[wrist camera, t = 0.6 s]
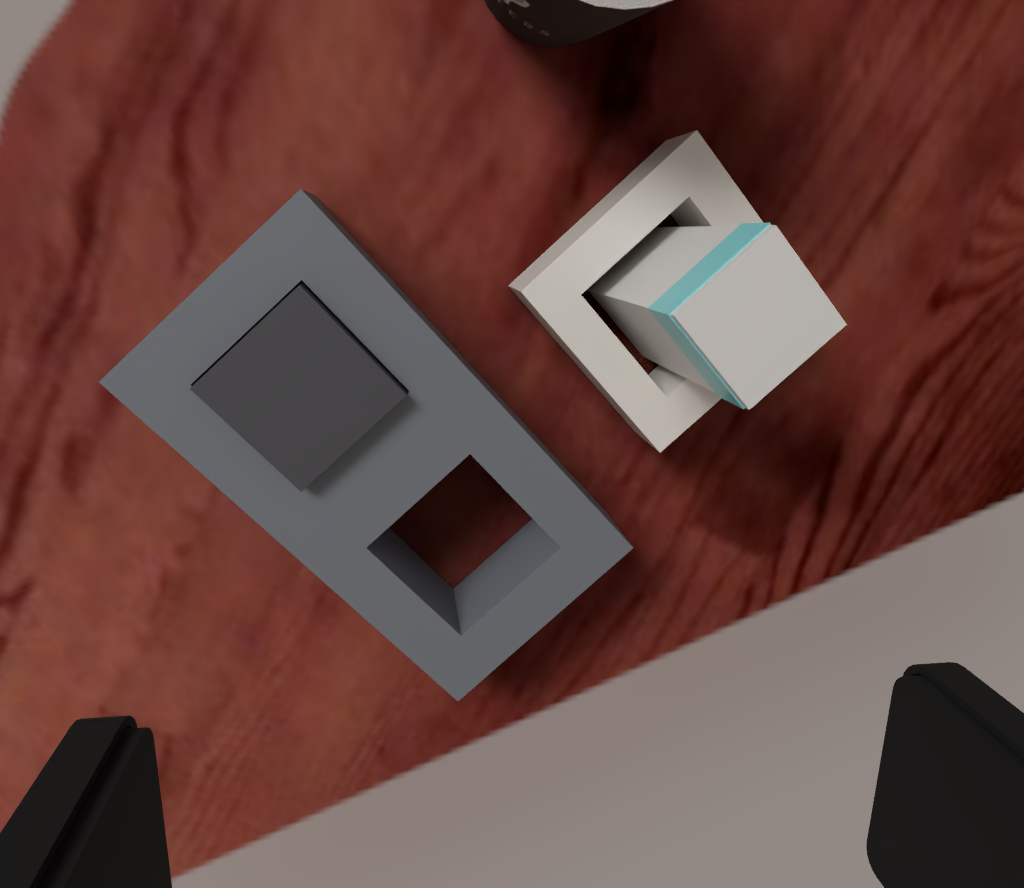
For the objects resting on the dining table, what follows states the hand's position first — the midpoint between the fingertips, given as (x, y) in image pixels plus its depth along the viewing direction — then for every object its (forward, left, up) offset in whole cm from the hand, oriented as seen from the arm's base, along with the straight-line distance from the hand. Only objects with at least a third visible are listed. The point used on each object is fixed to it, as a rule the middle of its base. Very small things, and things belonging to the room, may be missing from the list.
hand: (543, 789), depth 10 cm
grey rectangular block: (+3, 0, -26) cm, 26 cm away
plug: (-10, +3, -26) cm, 28 cm away
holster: (-10, +3, -26) cm, 28 cm away
